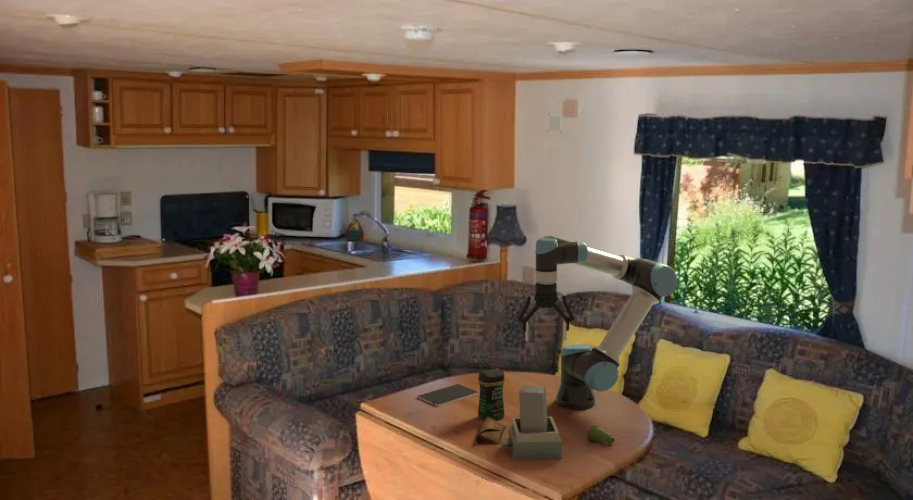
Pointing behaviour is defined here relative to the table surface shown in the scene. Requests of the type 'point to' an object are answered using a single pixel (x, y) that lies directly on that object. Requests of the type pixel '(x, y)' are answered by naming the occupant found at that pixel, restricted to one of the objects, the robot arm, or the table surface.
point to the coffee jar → (491, 394)
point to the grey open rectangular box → (534, 442)
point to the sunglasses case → (490, 432)
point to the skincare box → (533, 409)
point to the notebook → (447, 395)
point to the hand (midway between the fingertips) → (545, 339)
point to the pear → (600, 435)
